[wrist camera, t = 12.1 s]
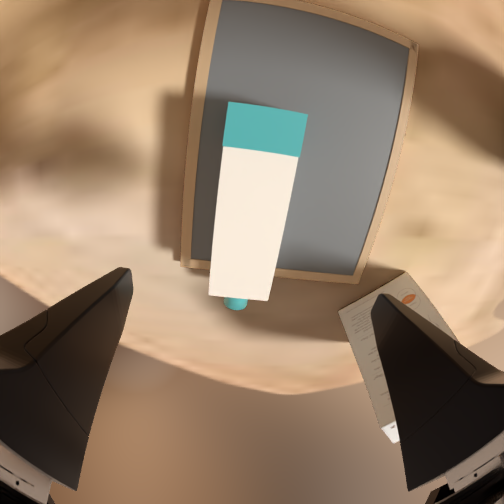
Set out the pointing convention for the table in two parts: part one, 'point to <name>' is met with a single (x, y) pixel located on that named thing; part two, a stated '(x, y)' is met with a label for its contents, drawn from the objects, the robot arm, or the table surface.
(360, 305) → the small box
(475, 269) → the table surface
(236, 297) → the marker
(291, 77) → the slate board
